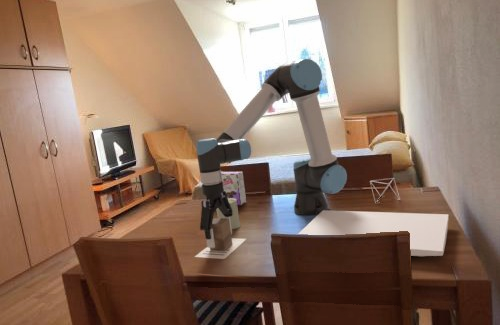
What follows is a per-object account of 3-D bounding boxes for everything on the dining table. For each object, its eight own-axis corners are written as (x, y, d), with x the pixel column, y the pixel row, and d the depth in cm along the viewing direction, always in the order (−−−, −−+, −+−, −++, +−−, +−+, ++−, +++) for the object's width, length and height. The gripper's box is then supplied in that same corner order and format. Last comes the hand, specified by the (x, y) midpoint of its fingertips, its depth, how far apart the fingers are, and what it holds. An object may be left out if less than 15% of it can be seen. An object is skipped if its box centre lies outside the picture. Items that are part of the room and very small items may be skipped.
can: (237, 230, 159) (233, 202, 157) (216, 231, 161) (212, 203, 159) (242, 223, 168) (238, 196, 166) (222, 224, 170) (218, 197, 168)
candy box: (218, 204, 203) (214, 173, 201) (225, 201, 208) (221, 171, 206) (240, 205, 196) (236, 173, 194) (247, 202, 201) (242, 171, 198)
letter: (246, 239, 147) (246, 238, 147) (224, 259, 131) (224, 258, 131) (219, 238, 152) (218, 237, 152) (194, 257, 136) (194, 256, 136)
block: (232, 244, 143) (228, 218, 141) (224, 251, 137) (221, 224, 136) (218, 244, 145) (214, 218, 144) (210, 250, 140) (206, 223, 138)
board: (293, 253, 130) (291, 239, 129) (324, 221, 157) (323, 210, 156) (443, 267, 107) (442, 251, 107) (449, 227, 135) (448, 214, 134)
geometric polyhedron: (402, 197, 175) (401, 177, 174) (397, 204, 166) (396, 183, 165) (374, 196, 182) (372, 177, 181) (368, 203, 173) (366, 183, 172)
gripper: (219, 175, 150) (226, 228, 153) (183, 191, 128) (193, 253, 131) (236, 174, 147) (243, 228, 150) (203, 191, 125) (212, 254, 128)
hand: (220, 240), depth 141 cm, fingers open, 12 cm apart
